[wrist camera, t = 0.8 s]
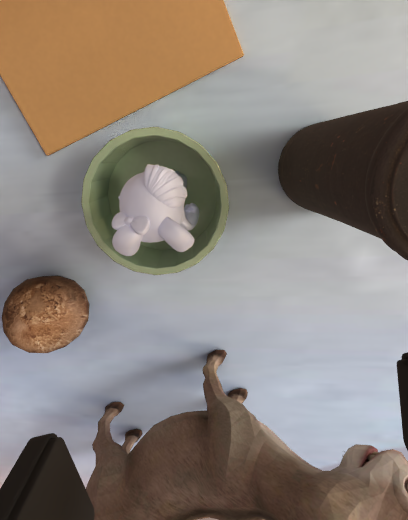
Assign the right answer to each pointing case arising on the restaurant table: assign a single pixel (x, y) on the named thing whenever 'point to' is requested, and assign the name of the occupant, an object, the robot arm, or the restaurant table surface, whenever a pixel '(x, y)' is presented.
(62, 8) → the mat
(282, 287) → the restaurant table surface
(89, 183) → the green bowl
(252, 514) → the toy
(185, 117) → the restaurant table surface
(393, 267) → the restaurant table surface
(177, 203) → the toy figurine
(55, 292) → the mushroom
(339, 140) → the container
